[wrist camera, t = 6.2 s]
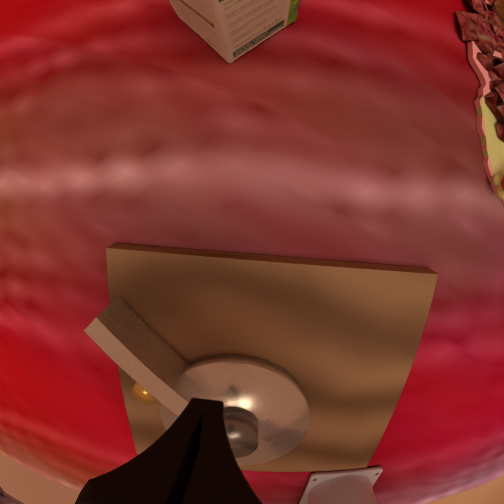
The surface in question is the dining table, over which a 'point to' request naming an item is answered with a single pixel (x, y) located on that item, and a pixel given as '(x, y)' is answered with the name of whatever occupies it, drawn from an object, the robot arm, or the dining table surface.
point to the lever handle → (209, 385)
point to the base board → (284, 335)
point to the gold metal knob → (142, 394)
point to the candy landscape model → (488, 81)
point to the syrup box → (236, 22)
